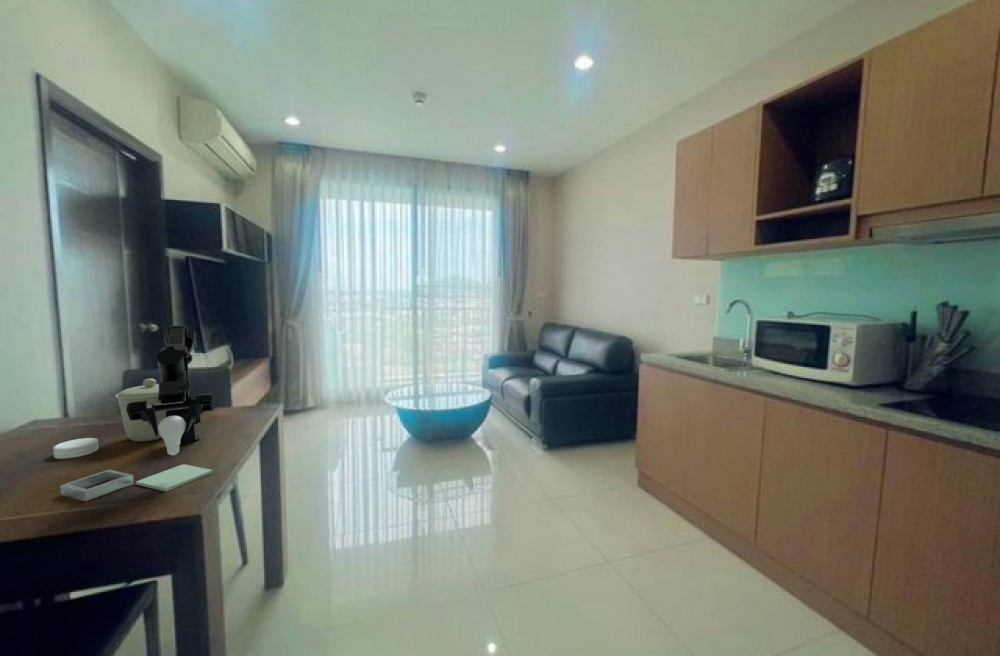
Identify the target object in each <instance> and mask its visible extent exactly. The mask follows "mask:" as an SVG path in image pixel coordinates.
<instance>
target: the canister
mask: <svg viewBox="0 0 1000 656" xmlns="http://www.w3.org/2000/svg"><path fill="white" fill-rule="evenodd" d="M142 384H143V385H138V386H133V387H128V388H126V389H124V390H121V391H120V392H119V393H116V394H115V395H114V398H116V399H118V401H117V402H118V406H119V409H120V410H119V411H120V414H121V419H122V423H123V426H124V427H123V428H124V430H125V434H126V436H127V438H128V439H129V440H130V441H132V442H149V441H156V440H159V439H160V440H161V439H163V438H162V437H161V435H160V434H159V433H158V436H155V433H154V431H153V429H152V427H151V425H150V424H149V423H148V421H142V419H141V420H130V419H129V416H128V413H127V404H129V403H130V402H134V401H143V400H147V403H152V404H160V401H159V400H158V392H159V383H157V380H156V379H154V378H145V379H144V380H143V382H142ZM155 415H156V418H157V427H158V425H159V423H160V422H161V421H162V420H163V419H164V418H166V410H165V411H155Z"/></svg>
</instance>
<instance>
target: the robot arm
mask: <svg viewBox="0 0 1000 656" xmlns="http://www.w3.org/2000/svg"><path fill="white" fill-rule="evenodd" d="M163 342H164V344H165V346H162V347H161V349H160V352H159V353H157V355H156V358H155V365H156V366H158V370H159V371H158V372H159V373H160V382H158V384H159V392H158V400H159V401H160V404H152V403H147V400H143V401H134V402H130V403H129V404H127V413H128V416H129V419H130V420H141V419H142V421H148V423H149V424H150V425H151V427H152V429H153V431H154V433H155V436H158V429H157V428H158V427H157V418H156V415H155V411H165V410H166V417H168V416H179V417H181V418H183V419H184V420H185V422H186V429H185V431H184V433H183V434H182V437H181V440H180V445H179V447H181V446H185V445H188V444H191V443H194V442H198V441H200V438H199V437H196V428H195V425H198V424H200V423H201V420H202V419H201V415H203V413H204V412H205V413H206V412H211V411H213V410H214V409H215V408H214V406H215V405H214V395H213V393H211V392H210V393H202V394H196V395H195V399H193V398H192V397H191V396H190V391H191V378H190V377H189V376H190V375H189V372H190V371H189V364H191V363H192V361H193V358H194V357H193V355H192V354H191V353H192V351H194V344H196V333H195V330H194V329H191V328H189V327H188V326H187V325H170V326H168V327H167V329H166V330H164V331H163Z"/></svg>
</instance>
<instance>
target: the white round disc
mask: <svg viewBox="0 0 1000 656" xmlns="http://www.w3.org/2000/svg"><path fill="white" fill-rule="evenodd" d="M99 447H100V446H99V439H97V438H95V437H85V438H84V437H83V438H77V439H72V440H67V441H64V442H61V443H58V444H56V445H55V446H53V448H52V450H53V452H52V453H53V457H54V458H55V459H58V460H62V459H63V460H64V459H65V460H66V459H73V458H74V459H75V458H79V457H82V456H83V457H84V456H87V455H90V454H92V453H96V452H97V451H98V450H99Z"/></svg>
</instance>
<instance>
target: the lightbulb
mask: <svg viewBox="0 0 1000 656" xmlns="http://www.w3.org/2000/svg"><path fill="white" fill-rule="evenodd" d="M157 429H158V433H159V434H160V435H161V437H162V438H161V439H163V441H164V445H165V448H166V451H167V455H170V456H176V455H177V454H178V453H179V452H180V446H179V445H180V440H181V437H182V434H183V433H184V431H185V429H186V422H185V420H184V419H183V418H181V417H179V416H168V417H166V418H164V419H163V420H162V421H161V422H160V423H159V425H158V428H157Z"/></svg>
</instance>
